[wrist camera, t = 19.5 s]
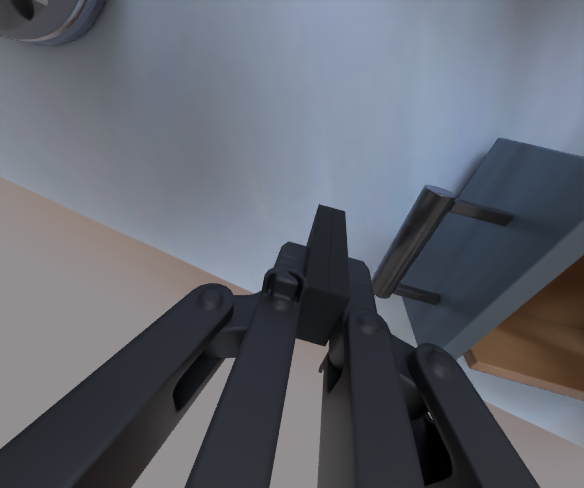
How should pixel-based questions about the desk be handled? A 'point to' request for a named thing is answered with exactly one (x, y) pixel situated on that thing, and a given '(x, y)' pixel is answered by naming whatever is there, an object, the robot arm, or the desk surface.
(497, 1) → the desk surface
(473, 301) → the drawer
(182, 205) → the desk surface
